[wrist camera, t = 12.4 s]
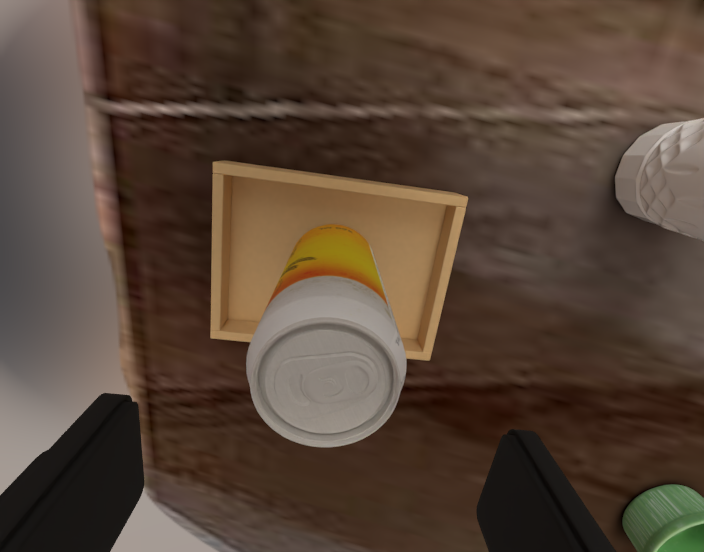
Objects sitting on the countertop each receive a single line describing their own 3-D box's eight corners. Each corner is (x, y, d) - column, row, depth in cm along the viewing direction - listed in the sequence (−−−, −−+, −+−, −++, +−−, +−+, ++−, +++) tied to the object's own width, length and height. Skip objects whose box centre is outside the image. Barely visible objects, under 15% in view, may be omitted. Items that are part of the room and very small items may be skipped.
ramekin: (604, 541, 39) (636, 588, 35) (631, 476, 36) (669, 519, 32) (683, 542, 39) (724, 589, 35) (717, 479, 36) (766, 521, 32)
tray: (224, 160, 25) (212, 161, 22) (456, 192, 26) (468, 197, 24) (221, 322, 29) (210, 338, 26) (422, 344, 30) (429, 361, 28)
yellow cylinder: (281, 232, 26) (213, 331, 12) (364, 213, 26) (395, 291, 12) (303, 307, 28) (267, 469, 14) (380, 291, 28) (424, 438, 14)
